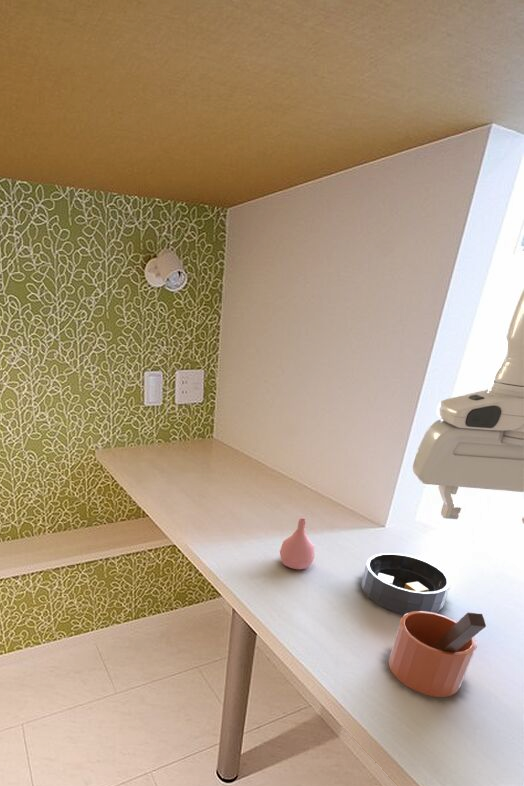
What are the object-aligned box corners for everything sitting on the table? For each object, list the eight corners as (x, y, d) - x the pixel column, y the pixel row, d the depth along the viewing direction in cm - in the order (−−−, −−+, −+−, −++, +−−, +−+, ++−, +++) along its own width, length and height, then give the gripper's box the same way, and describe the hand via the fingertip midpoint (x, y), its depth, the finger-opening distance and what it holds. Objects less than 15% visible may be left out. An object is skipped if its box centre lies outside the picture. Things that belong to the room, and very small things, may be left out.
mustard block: (425, 601, 87) (429, 589, 86) (412, 604, 87) (416, 591, 85) (413, 593, 90) (417, 581, 89) (401, 595, 89) (405, 583, 88)
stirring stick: (427, 662, 71) (482, 613, 56) (429, 673, 70) (486, 626, 55) (415, 661, 71) (467, 612, 57) (417, 672, 70) (471, 624, 56)
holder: (445, 658, 74) (461, 615, 70) (468, 706, 65) (488, 660, 61) (381, 649, 76) (393, 607, 72) (395, 693, 67) (410, 648, 63)
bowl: (428, 581, 96) (435, 557, 93) (452, 624, 82) (462, 598, 80) (355, 572, 98) (360, 549, 96) (367, 613, 85) (374, 587, 82)
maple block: (390, 588, 91) (394, 576, 90) (388, 595, 89) (392, 583, 88) (375, 584, 93) (378, 572, 91) (373, 591, 90) (376, 578, 89)
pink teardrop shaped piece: (304, 557, 104) (311, 511, 99) (318, 574, 97) (326, 526, 92) (273, 559, 103) (279, 513, 98) (285, 576, 96) (292, 528, 91)
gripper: (617, 410, 50) (568, 519, 56) (425, 401, 54) (398, 503, 60) (660, 422, 44) (600, 541, 50) (442, 410, 48) (410, 523, 54)
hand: (489, 521), depth 55 cm, fingers open, 8 cm apart
